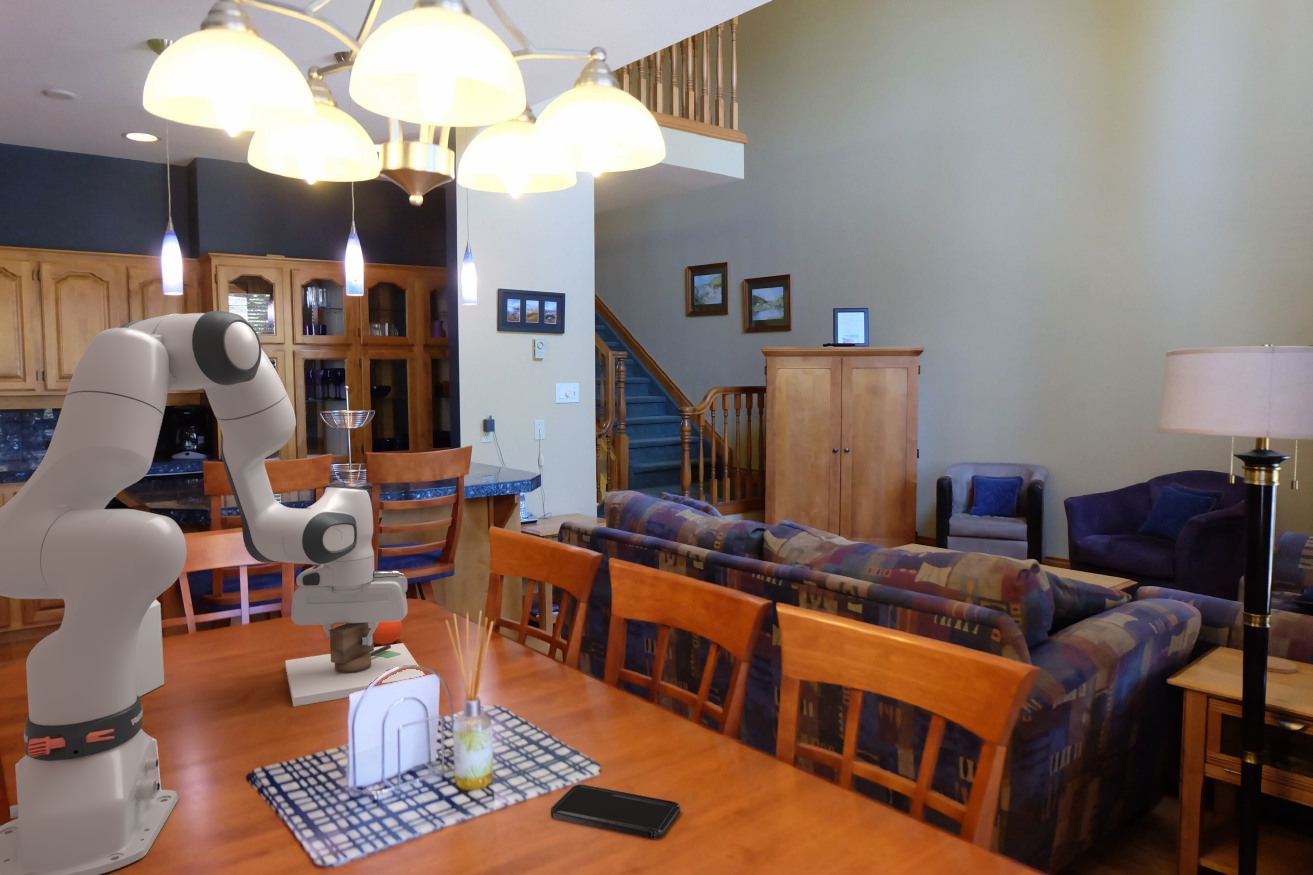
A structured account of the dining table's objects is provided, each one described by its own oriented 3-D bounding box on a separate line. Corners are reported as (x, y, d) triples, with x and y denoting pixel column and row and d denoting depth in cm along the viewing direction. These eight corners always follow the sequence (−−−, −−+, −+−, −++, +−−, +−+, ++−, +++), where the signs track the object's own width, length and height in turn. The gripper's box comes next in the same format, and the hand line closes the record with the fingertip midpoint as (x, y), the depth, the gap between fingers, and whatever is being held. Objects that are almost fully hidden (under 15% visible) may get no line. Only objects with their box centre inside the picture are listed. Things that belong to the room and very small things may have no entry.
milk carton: (164, 684, 152) (159, 581, 151) (136, 699, 145) (131, 591, 143) (128, 683, 152) (123, 581, 151) (98, 698, 145) (92, 590, 144)
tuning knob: (402, 651, 163) (401, 611, 163) (351, 675, 150) (350, 632, 150) (376, 648, 166) (374, 609, 165) (323, 671, 152) (322, 628, 152)
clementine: (375, 652, 169) (374, 618, 168) (356, 646, 173) (355, 612, 172) (409, 643, 175) (408, 609, 174) (390, 637, 179) (389, 604, 179)
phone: (659, 834, 98) (547, 810, 103) (659, 843, 98) (547, 819, 103) (682, 802, 105) (576, 782, 111) (682, 811, 105) (576, 790, 111)
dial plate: (425, 683, 150) (425, 674, 150) (293, 706, 140) (292, 696, 140) (403, 650, 170) (403, 642, 170) (285, 667, 160) (285, 659, 160)
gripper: (410, 566, 158) (411, 638, 159) (297, 570, 156) (300, 643, 156) (404, 573, 152) (405, 648, 153) (287, 577, 149) (289, 653, 150)
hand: (351, 645), depth 154 cm, fingers closed on tuning knob, 4 cm apart
